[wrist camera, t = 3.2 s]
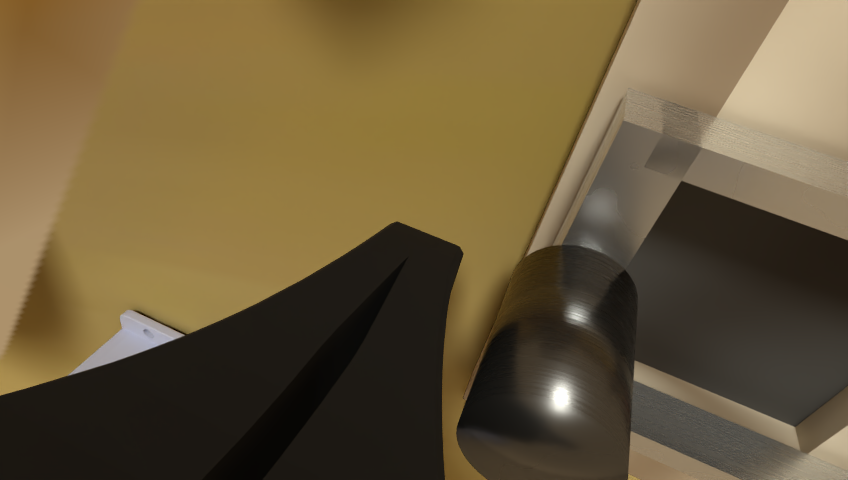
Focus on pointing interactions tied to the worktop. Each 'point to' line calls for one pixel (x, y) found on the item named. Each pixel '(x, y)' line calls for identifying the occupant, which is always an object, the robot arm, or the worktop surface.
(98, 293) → the worktop surface
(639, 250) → the tunnel deck
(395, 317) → the robot arm
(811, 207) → the slider frame
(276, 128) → the worktop surface
